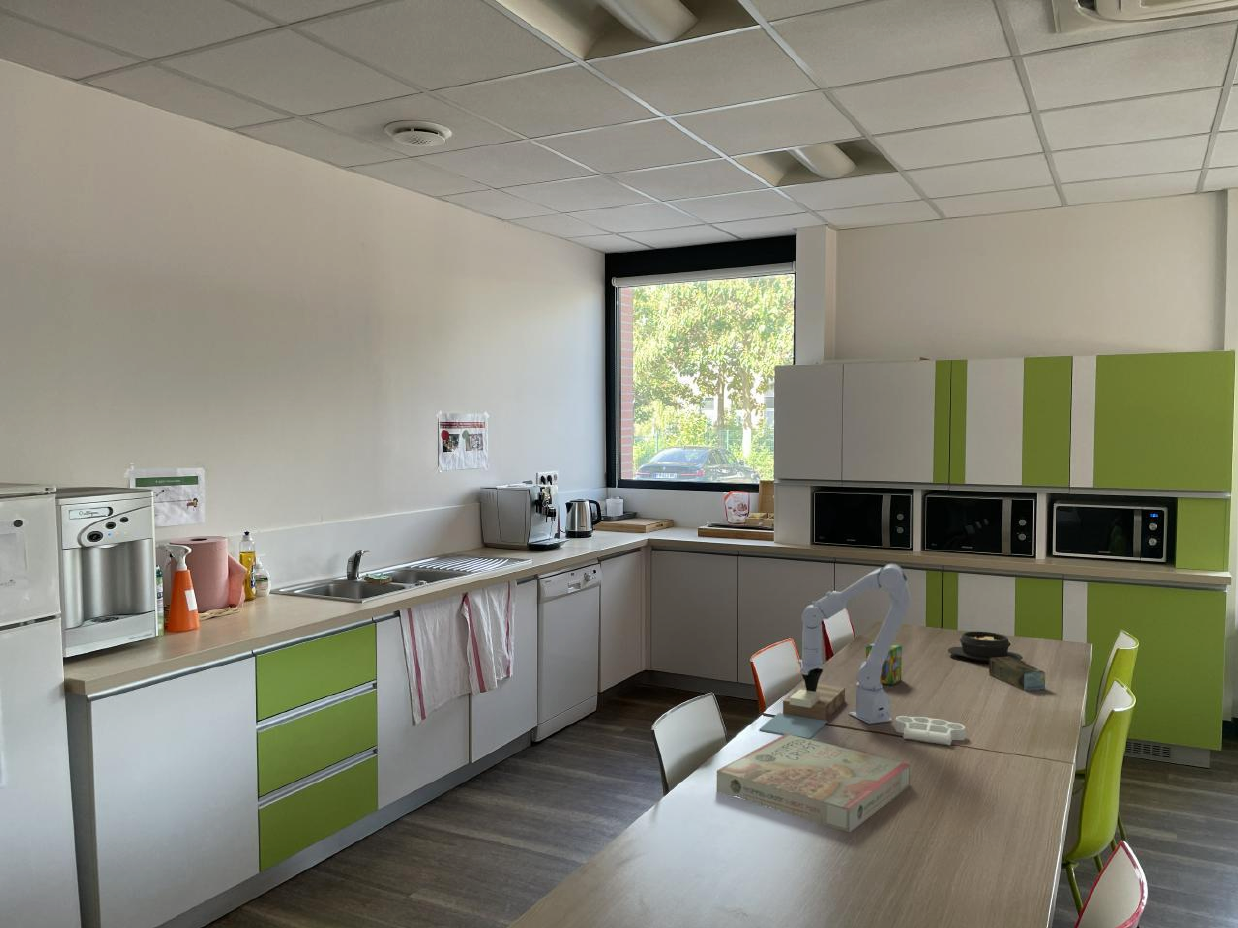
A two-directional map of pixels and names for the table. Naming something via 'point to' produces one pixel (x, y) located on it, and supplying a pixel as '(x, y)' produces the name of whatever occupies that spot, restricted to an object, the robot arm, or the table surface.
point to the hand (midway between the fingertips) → (811, 693)
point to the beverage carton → (1017, 673)
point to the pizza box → (815, 781)
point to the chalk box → (890, 664)
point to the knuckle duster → (929, 730)
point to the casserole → (983, 646)
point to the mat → (793, 725)
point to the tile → (805, 698)
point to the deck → (817, 703)
